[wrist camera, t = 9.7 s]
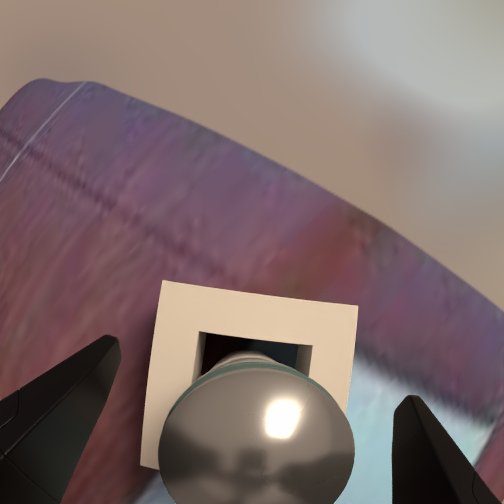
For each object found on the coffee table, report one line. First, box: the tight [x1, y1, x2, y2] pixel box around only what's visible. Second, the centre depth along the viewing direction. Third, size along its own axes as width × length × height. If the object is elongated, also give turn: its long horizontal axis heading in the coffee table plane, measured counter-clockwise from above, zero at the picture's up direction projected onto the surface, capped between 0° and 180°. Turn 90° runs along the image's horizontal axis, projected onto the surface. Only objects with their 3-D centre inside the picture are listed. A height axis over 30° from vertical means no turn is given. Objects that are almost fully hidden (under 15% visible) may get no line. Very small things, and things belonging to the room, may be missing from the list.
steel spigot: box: [158, 349, 355, 504], centre depth 12 cm, size 5×5×13 cm
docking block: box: [140, 280, 358, 470], centre depth 17 cm, size 10×10×4 cm
